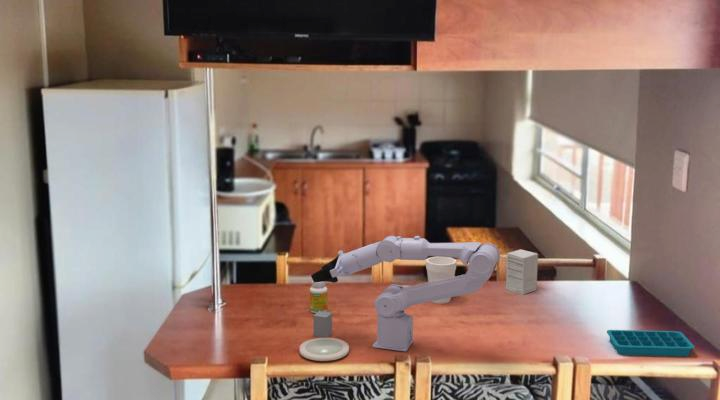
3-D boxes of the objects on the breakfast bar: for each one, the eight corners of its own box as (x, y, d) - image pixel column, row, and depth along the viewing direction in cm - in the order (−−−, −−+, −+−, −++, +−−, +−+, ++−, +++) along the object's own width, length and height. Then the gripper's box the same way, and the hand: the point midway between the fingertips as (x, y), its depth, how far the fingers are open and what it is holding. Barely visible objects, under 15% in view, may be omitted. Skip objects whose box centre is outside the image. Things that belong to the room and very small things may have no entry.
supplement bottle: (312, 314, 231) (311, 283, 229) (308, 308, 236) (307, 278, 234) (329, 313, 233) (329, 282, 231) (325, 307, 238) (325, 277, 236)
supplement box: (519, 285, 258) (520, 248, 256) (537, 290, 253) (538, 253, 250) (504, 289, 254) (506, 252, 251) (522, 295, 248) (524, 257, 246)
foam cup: (425, 295, 249) (425, 256, 246) (453, 295, 248) (454, 256, 245) (426, 305, 239) (427, 265, 237) (456, 305, 239) (457, 265, 236)
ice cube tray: (605, 339, 213) (605, 329, 212) (679, 341, 211) (680, 331, 211) (615, 357, 201) (616, 346, 201) (695, 359, 200) (696, 348, 199)
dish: (355, 346, 208) (355, 340, 207) (338, 365, 196) (338, 359, 195) (310, 340, 212) (310, 334, 211) (291, 359, 200) (291, 353, 199)
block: (332, 332, 218) (332, 312, 216) (327, 337, 214) (327, 317, 213) (319, 330, 219) (318, 310, 218) (313, 336, 215) (313, 315, 214)
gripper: (363, 238, 213) (322, 253, 219) (345, 253, 200) (302, 269, 205) (373, 261, 214) (332, 276, 219) (356, 277, 201) (312, 293, 206)
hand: (318, 274), depth 212 cm, fingers open, 7 cm apart
